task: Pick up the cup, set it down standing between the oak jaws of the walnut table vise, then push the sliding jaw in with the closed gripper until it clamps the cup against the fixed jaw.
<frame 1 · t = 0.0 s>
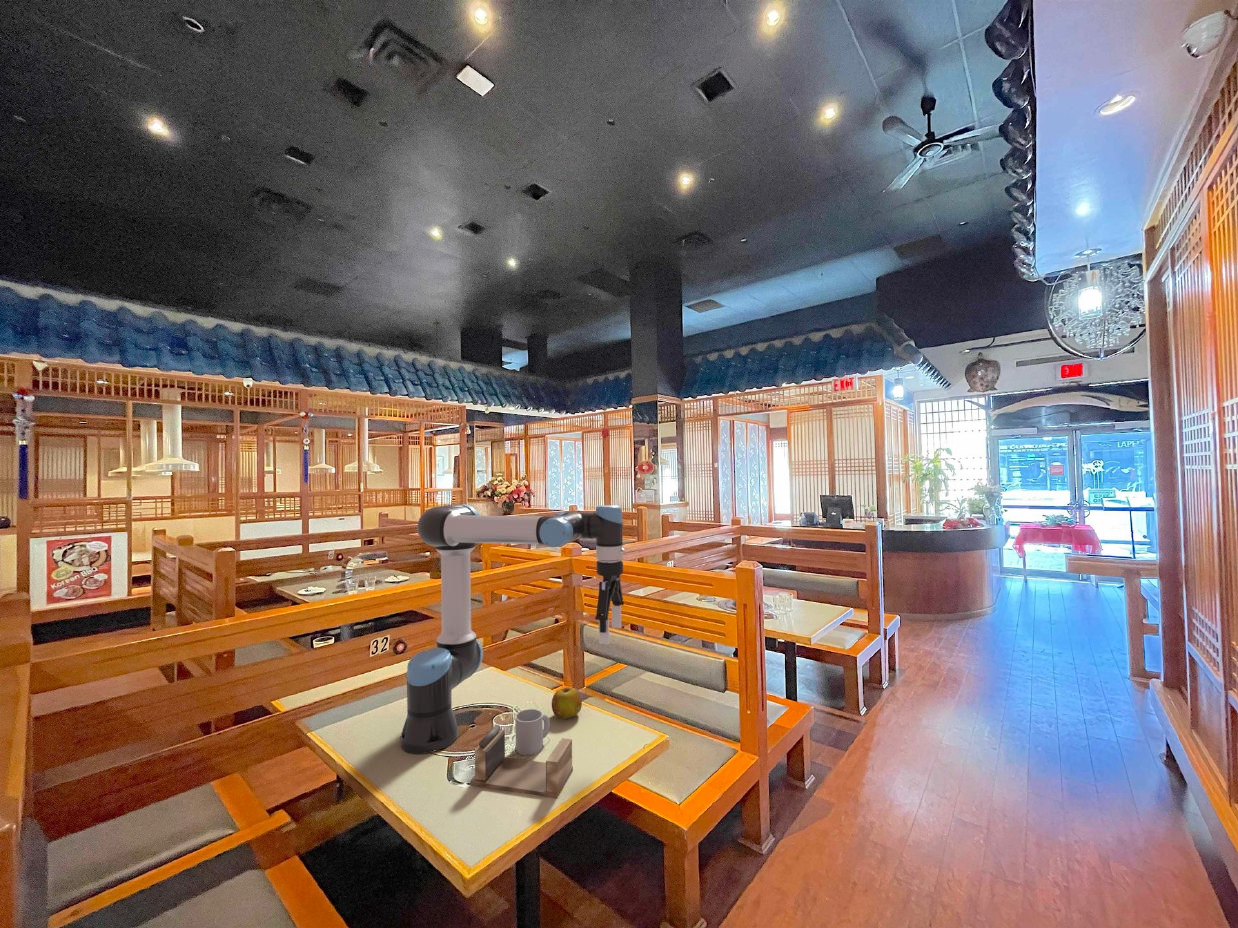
hand: (610, 635, 142), 28 cm above the table, fingers open, 13 cm apart
cup: (533, 747, 137), on the table
sliding jaw: (490, 750, 125), point 6 cm above the table, slide at 0.0 cm
fruit: (567, 716, 153), on the table
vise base: (522, 777, 123), on the table
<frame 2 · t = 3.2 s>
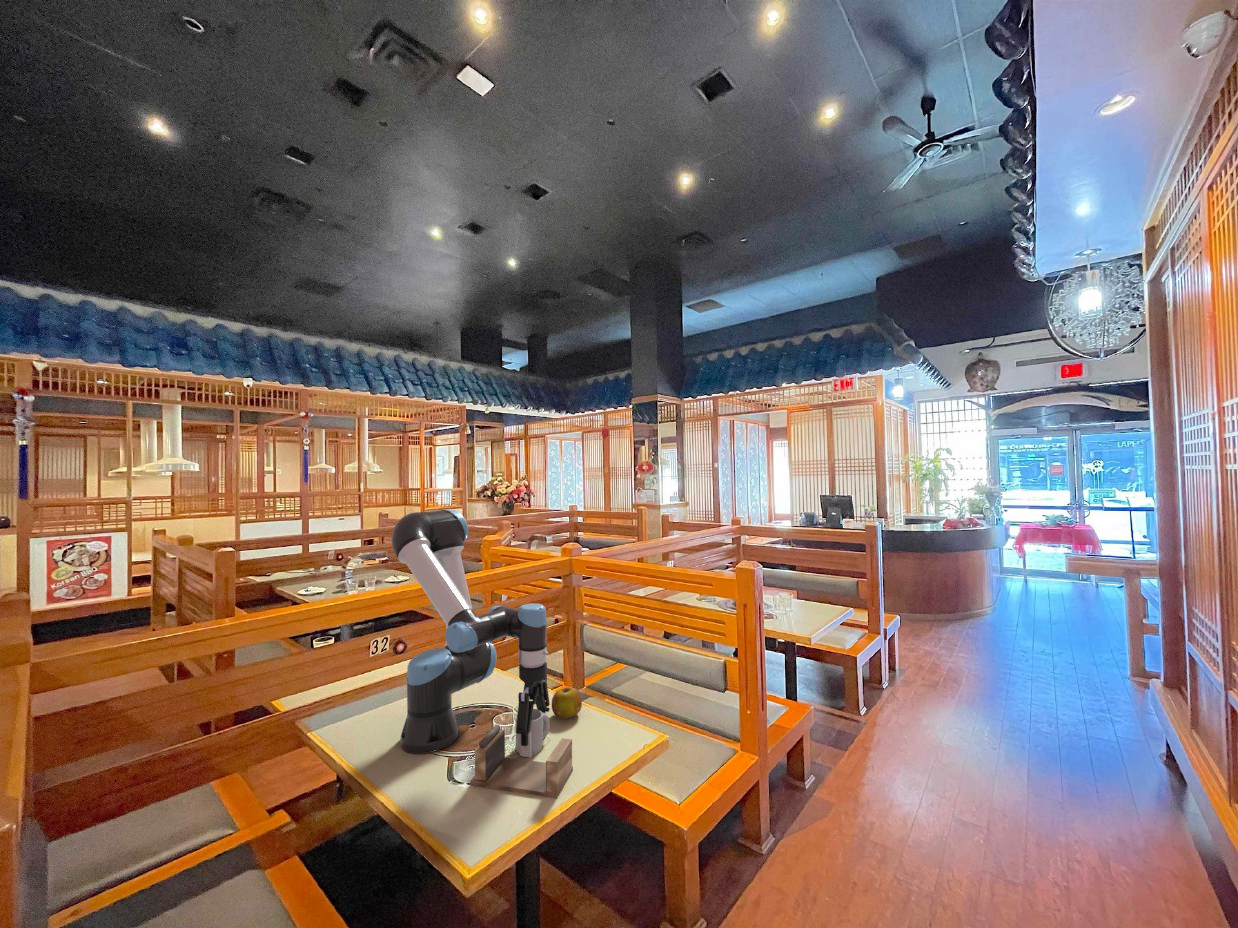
hand: (534, 745, 137), 0 cm above the table, fingers open, 9 cm apart
cup: (533, 747, 137), on the table, touching gripper
everything else where it was.
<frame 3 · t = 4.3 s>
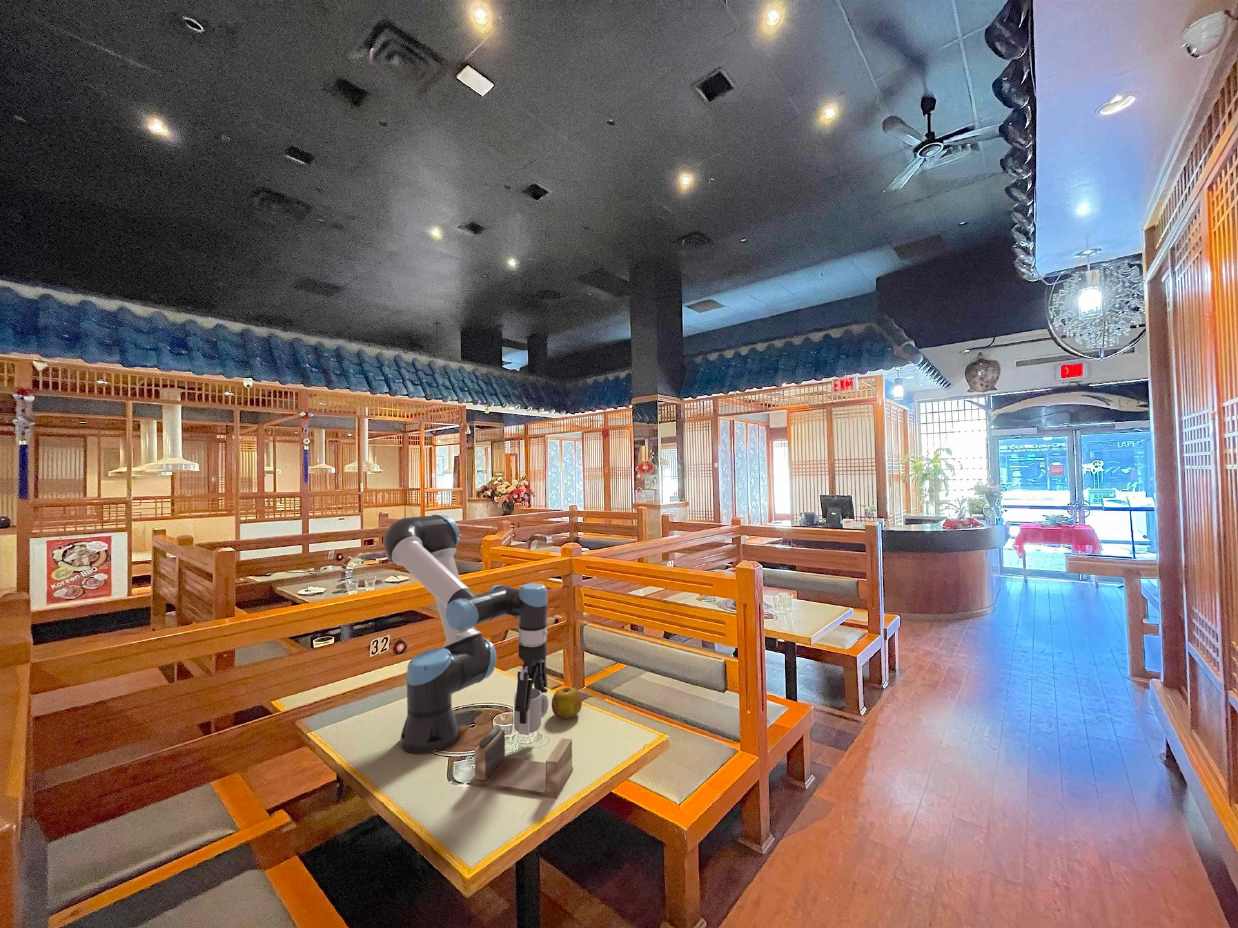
hand: (531, 724, 137), 6 cm above the table, fingers closed on cup, 9 cm apart
cup: (532, 725, 138), point 5 cm above the table, touching gripper
everything else where it was.
when the fingers open (2 cm above the table, at t = 8.6 s): cup stays where it is, resting on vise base.
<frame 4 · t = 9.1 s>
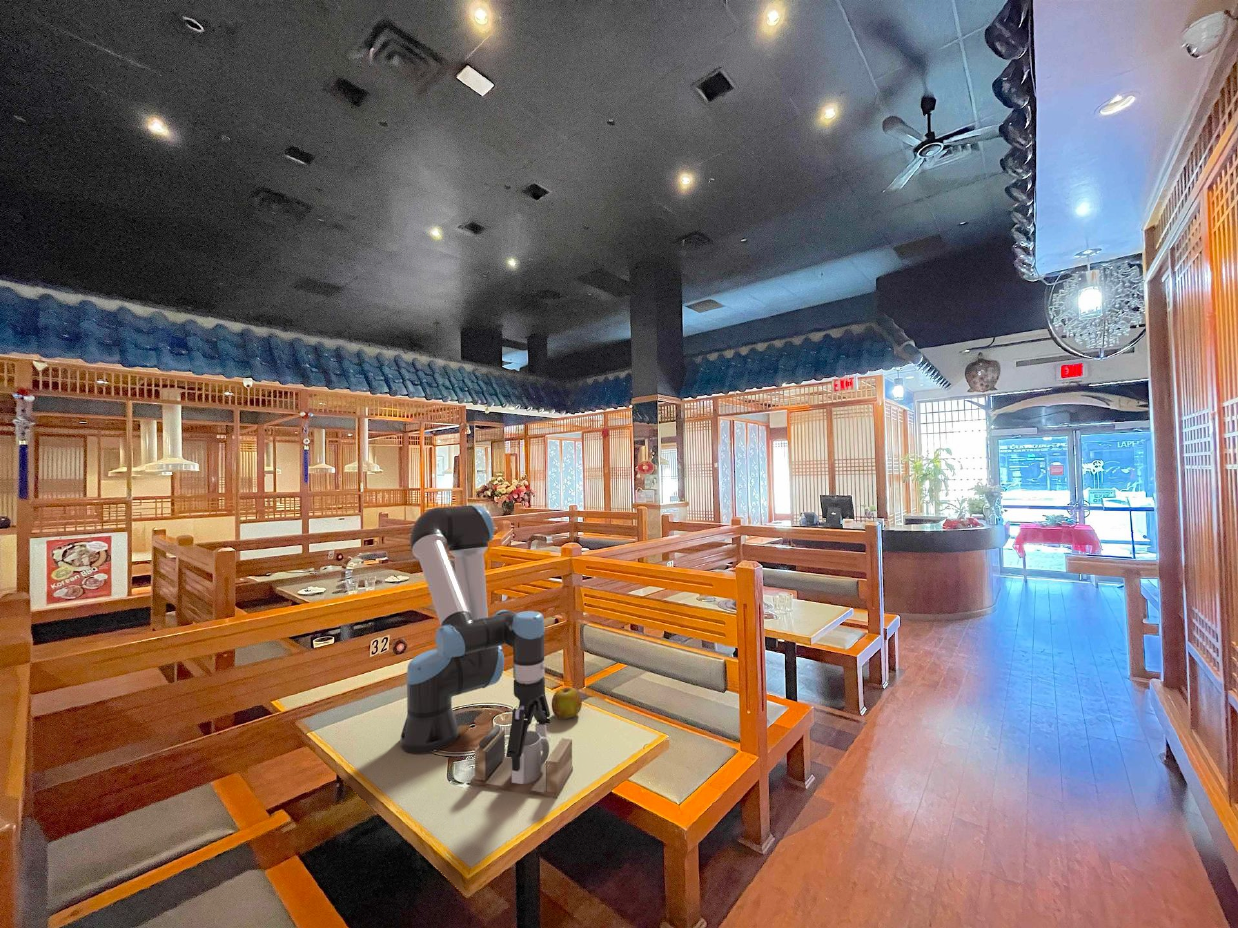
hand: (530, 765, 122), 3 cm above the table, fingers open, 13 cm apart
cup: (531, 774, 123), point 1 cm above the table, touching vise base
everything else where it was.
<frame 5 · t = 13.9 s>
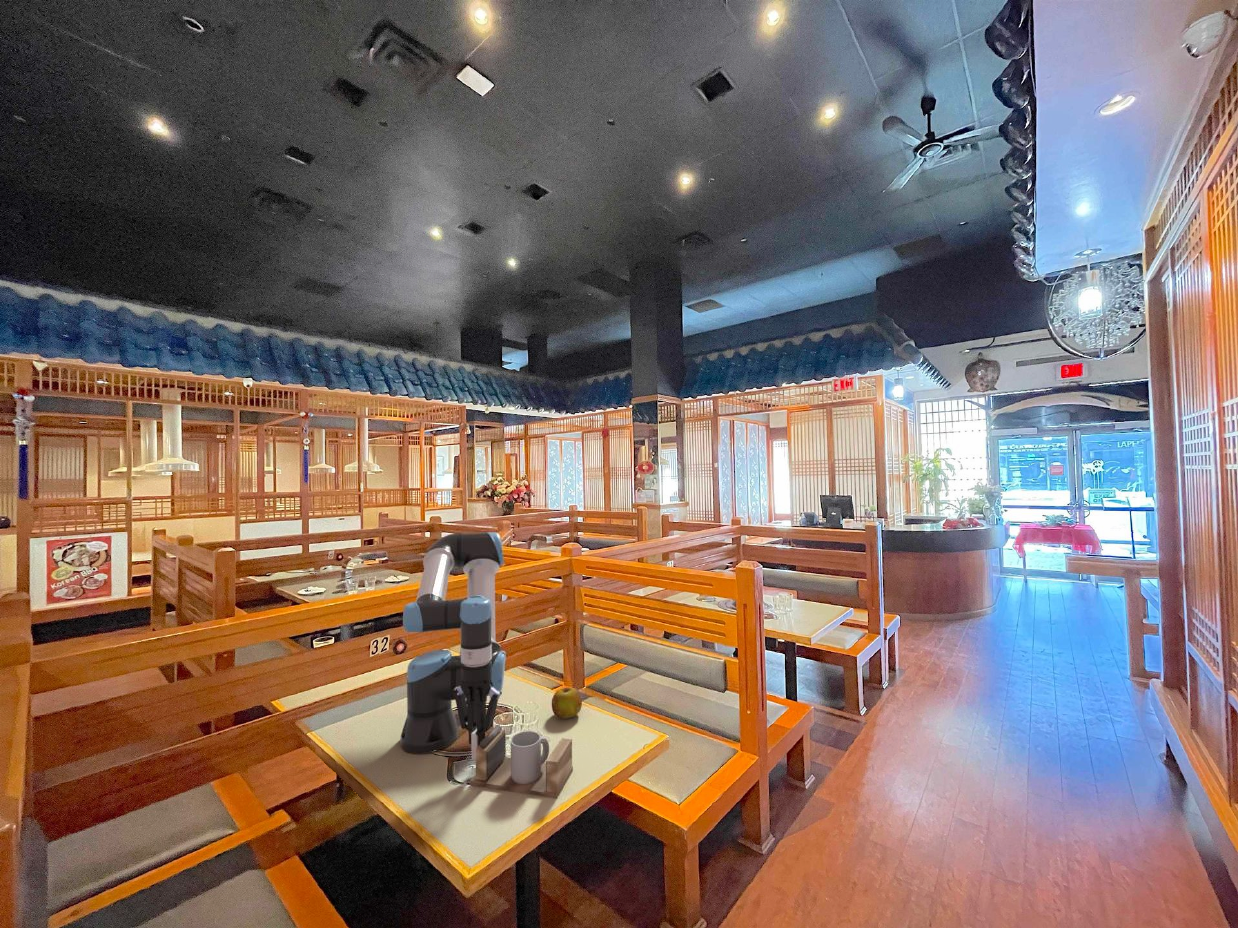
hand: (477, 757, 125), 4 cm above the table, fingers closed
sliding jaw: (491, 750, 125), point 6 cm above the table, slide at 0.2 cm, touching gripper
everything else where it was.
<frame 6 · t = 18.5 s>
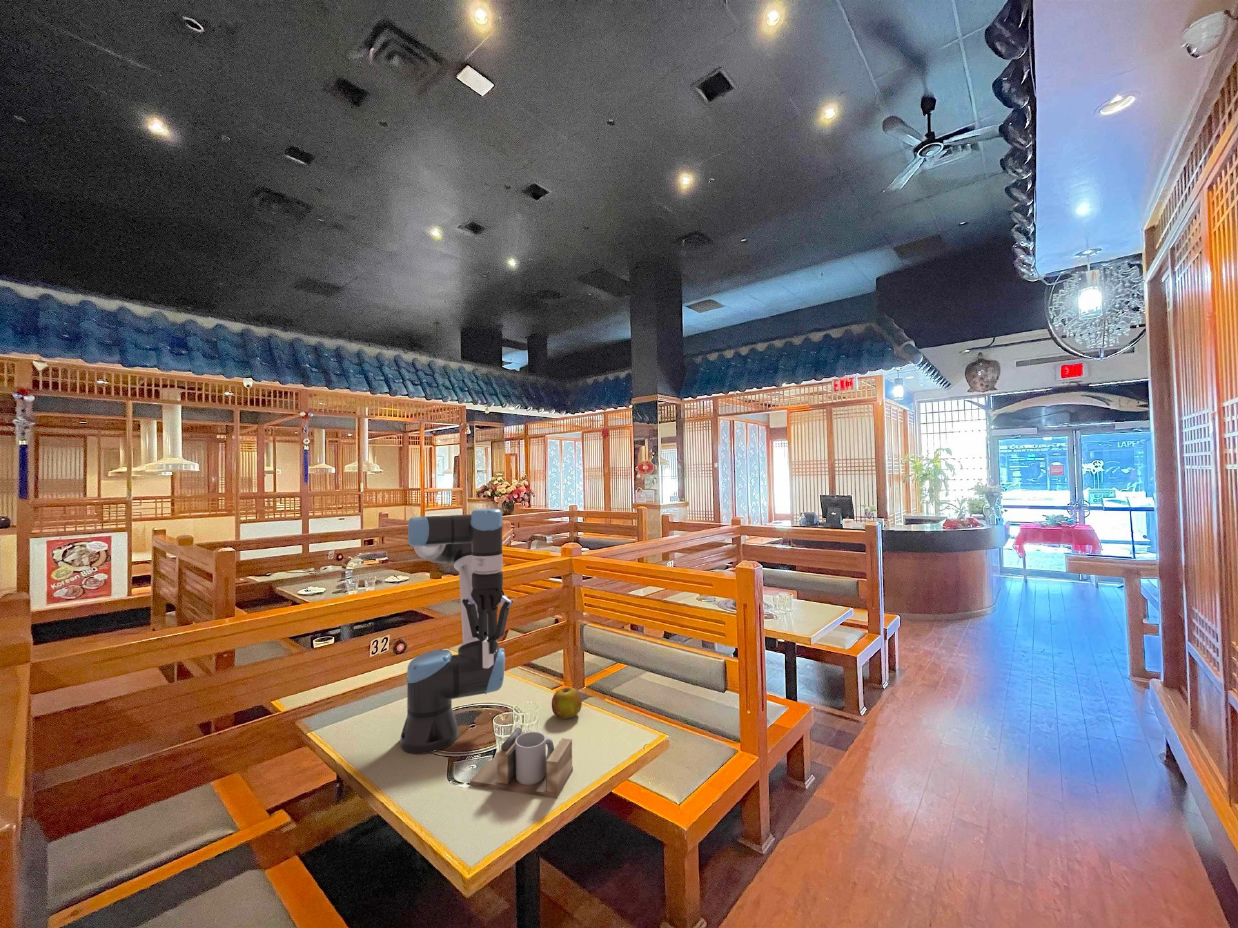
hand: (488, 665, 125), 26 cm above the table, fingers closed
cup: (536, 774, 122), point 1 cm above the table, touching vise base
sliding jaw: (512, 753, 124), point 6 cm above the table, slide at 5.9 cm
everything else where it was.
at the end: sliding jaw slide at 5.9 cm; cup inside the target area (0.5 cm from its centre), point 0.8 cm above the table; cup tilted 0° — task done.
